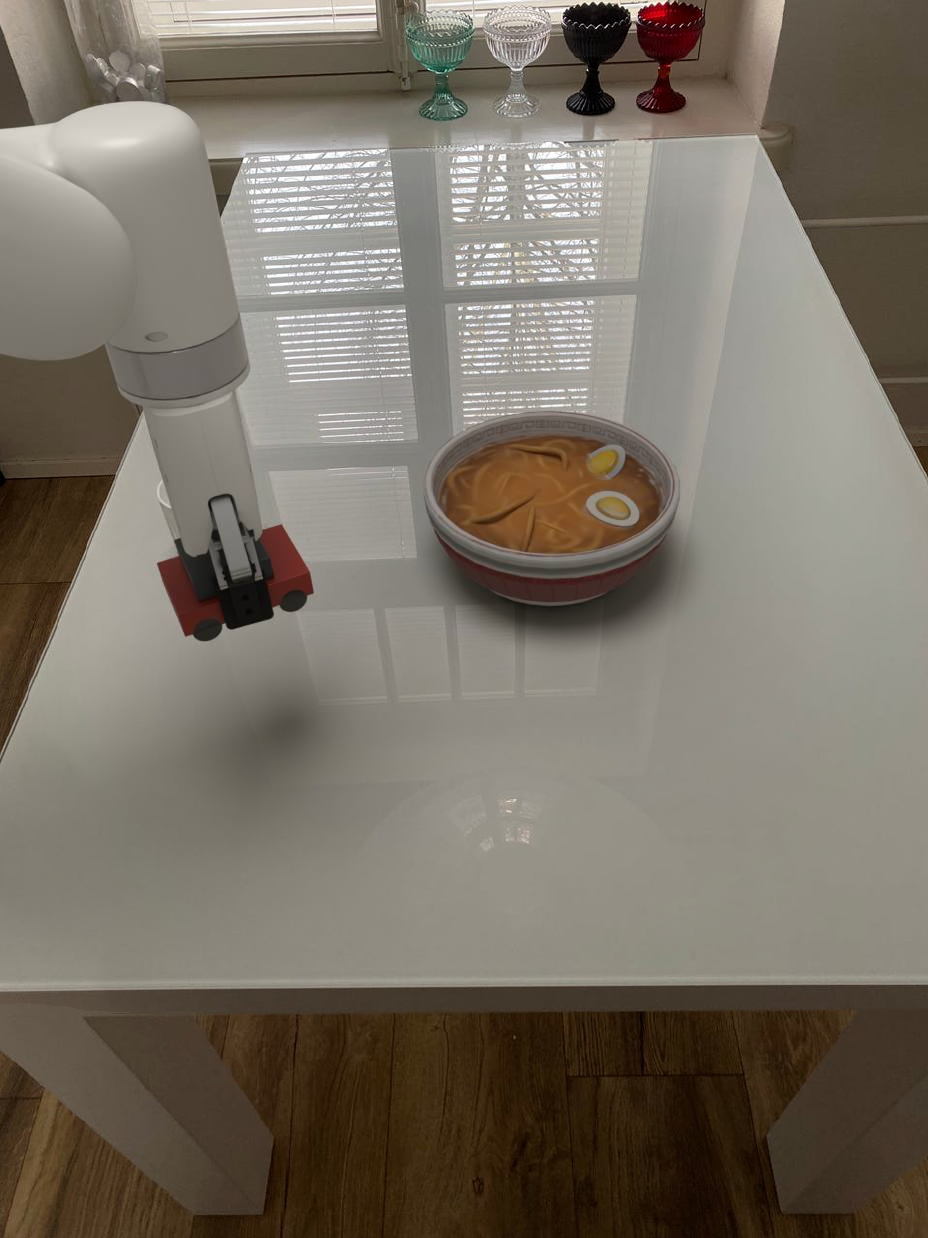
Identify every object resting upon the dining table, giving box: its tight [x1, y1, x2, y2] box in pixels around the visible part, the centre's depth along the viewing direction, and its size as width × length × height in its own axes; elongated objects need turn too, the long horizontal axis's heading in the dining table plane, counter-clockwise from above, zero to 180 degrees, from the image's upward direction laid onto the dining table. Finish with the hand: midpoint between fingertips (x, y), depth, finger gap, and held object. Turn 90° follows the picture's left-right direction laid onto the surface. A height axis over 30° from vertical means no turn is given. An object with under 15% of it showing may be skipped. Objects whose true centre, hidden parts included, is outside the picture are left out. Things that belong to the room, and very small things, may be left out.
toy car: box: [156, 523, 315, 642], centre depth 65 cm, size 9×5×6 cm
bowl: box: [422, 410, 681, 607], centre depth 89 cm, size 23×23×10 cm
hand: (239, 587), depth 66 cm, fingers closed on toy car, 6 cm apart
